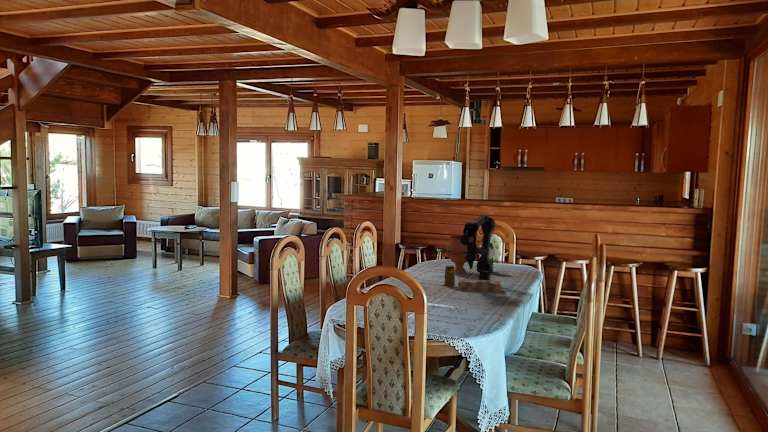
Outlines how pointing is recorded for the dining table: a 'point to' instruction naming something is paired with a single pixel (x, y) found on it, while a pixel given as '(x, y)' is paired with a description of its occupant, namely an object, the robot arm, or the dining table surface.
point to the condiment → (449, 277)
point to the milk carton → (490, 253)
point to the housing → (478, 285)
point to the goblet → (457, 253)
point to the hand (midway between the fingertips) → (471, 268)
